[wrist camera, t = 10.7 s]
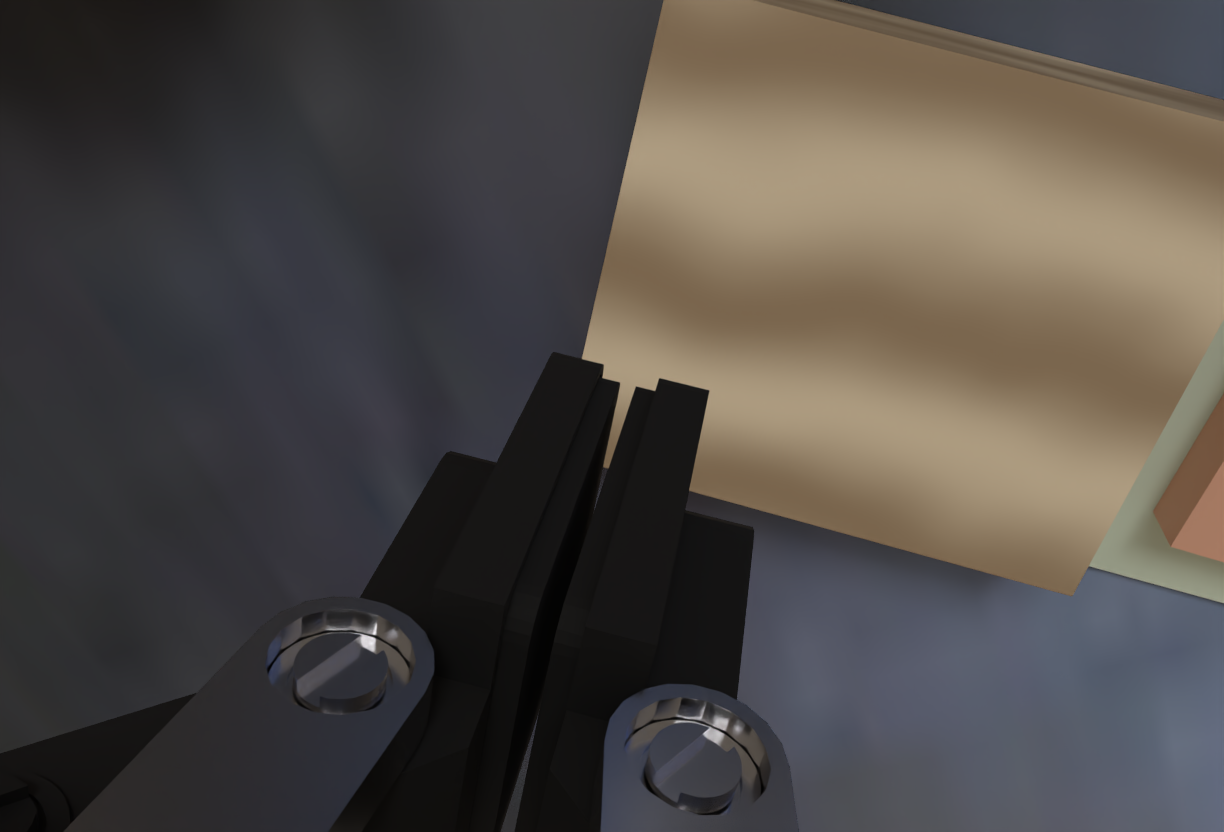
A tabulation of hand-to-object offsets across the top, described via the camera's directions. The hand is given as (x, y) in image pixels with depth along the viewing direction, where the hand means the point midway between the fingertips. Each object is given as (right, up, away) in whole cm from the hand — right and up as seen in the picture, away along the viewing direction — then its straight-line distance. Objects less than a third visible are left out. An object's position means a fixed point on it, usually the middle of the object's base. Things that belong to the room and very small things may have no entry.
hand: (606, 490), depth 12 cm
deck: (+8, +5, +22) cm, 24 cm away
